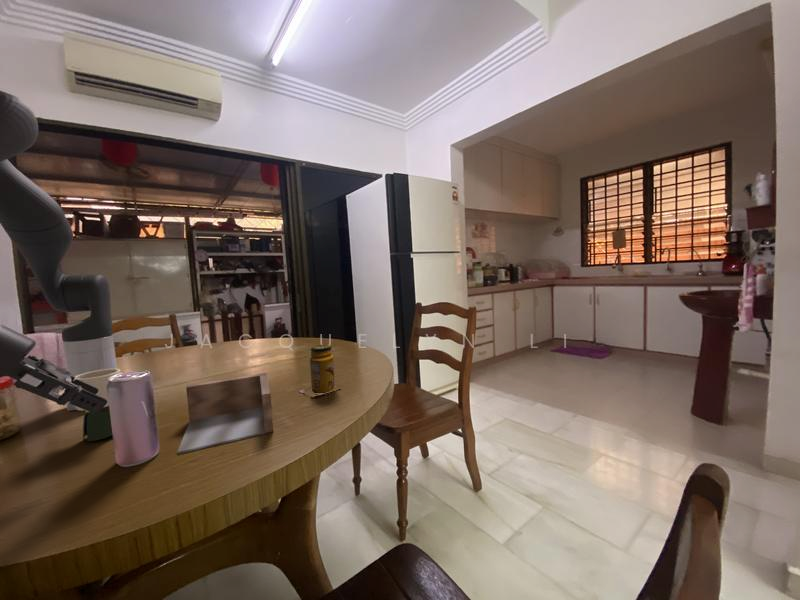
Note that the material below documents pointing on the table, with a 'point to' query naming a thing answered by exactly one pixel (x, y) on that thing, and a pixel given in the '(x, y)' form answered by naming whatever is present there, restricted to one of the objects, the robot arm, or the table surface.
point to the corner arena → (227, 411)
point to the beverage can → (133, 417)
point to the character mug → (100, 422)
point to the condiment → (321, 369)
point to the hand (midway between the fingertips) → (98, 400)
